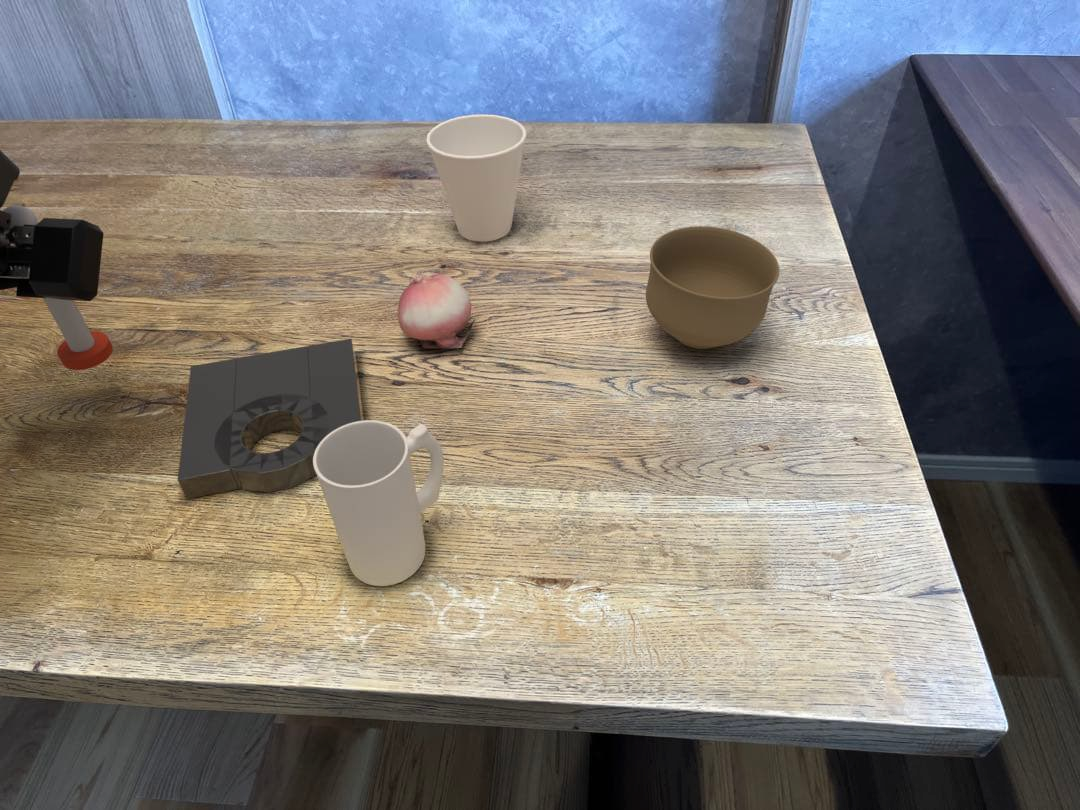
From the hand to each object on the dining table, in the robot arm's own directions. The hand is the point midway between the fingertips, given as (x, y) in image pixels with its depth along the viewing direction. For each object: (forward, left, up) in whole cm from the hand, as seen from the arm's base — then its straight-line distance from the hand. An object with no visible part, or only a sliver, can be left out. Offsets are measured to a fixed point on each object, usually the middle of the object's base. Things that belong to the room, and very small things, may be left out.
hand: (60, 276), depth 74 cm
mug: (+26, -28, -14) cm, 41 cm away
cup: (+42, +20, -14) cm, 49 cm away
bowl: (+60, -9, -14) cm, 62 cm away
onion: (+33, -1, -14) cm, 36 cm away
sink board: (+16, -10, -13) cm, 23 cm away
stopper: (-1, -1, -8) cm, 8 cm away
